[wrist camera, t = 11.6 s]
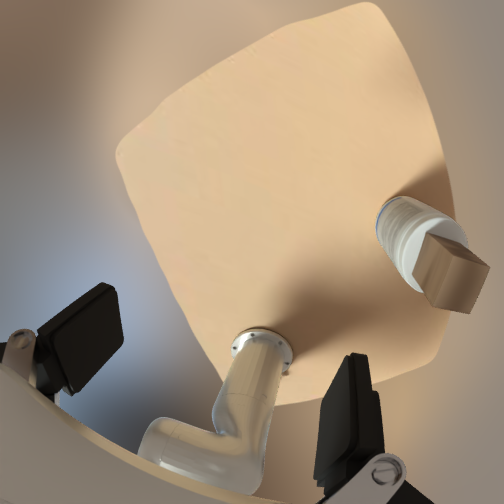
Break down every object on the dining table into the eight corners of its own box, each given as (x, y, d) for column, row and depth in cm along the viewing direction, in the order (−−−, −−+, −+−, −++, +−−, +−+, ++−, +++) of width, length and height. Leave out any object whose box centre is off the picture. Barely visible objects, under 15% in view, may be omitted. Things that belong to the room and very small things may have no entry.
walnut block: (459, 242, 23) (490, 267, 17) (445, 282, 25) (469, 314, 19) (425, 231, 24) (453, 255, 18) (411, 274, 26) (432, 306, 20)
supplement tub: (374, 254, 41) (396, 300, 28) (372, 196, 38) (399, 218, 25) (426, 249, 38) (464, 291, 25) (427, 193, 35) (472, 214, 22)
